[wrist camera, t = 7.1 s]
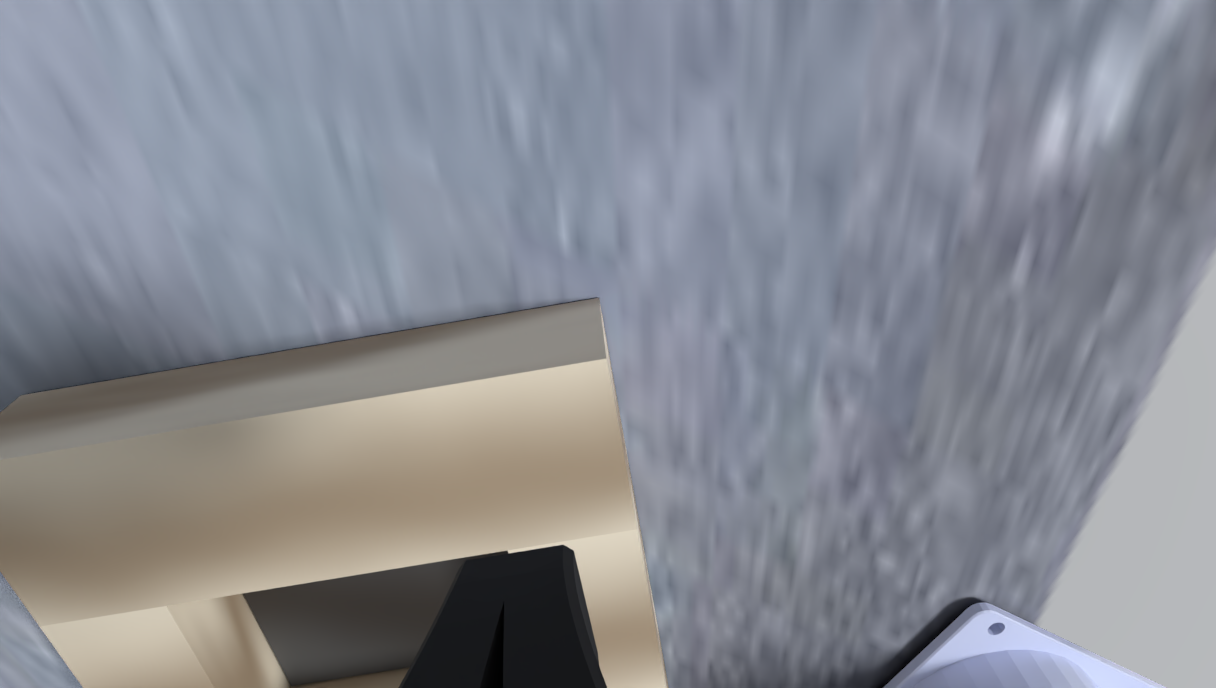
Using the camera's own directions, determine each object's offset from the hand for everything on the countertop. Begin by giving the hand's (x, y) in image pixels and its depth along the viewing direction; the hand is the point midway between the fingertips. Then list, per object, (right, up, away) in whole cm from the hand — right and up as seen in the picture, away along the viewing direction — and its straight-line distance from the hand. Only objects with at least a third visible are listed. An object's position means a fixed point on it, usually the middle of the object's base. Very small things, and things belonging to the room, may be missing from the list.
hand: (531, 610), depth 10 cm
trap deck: (-4, -9, +15) cm, 18 cm away
